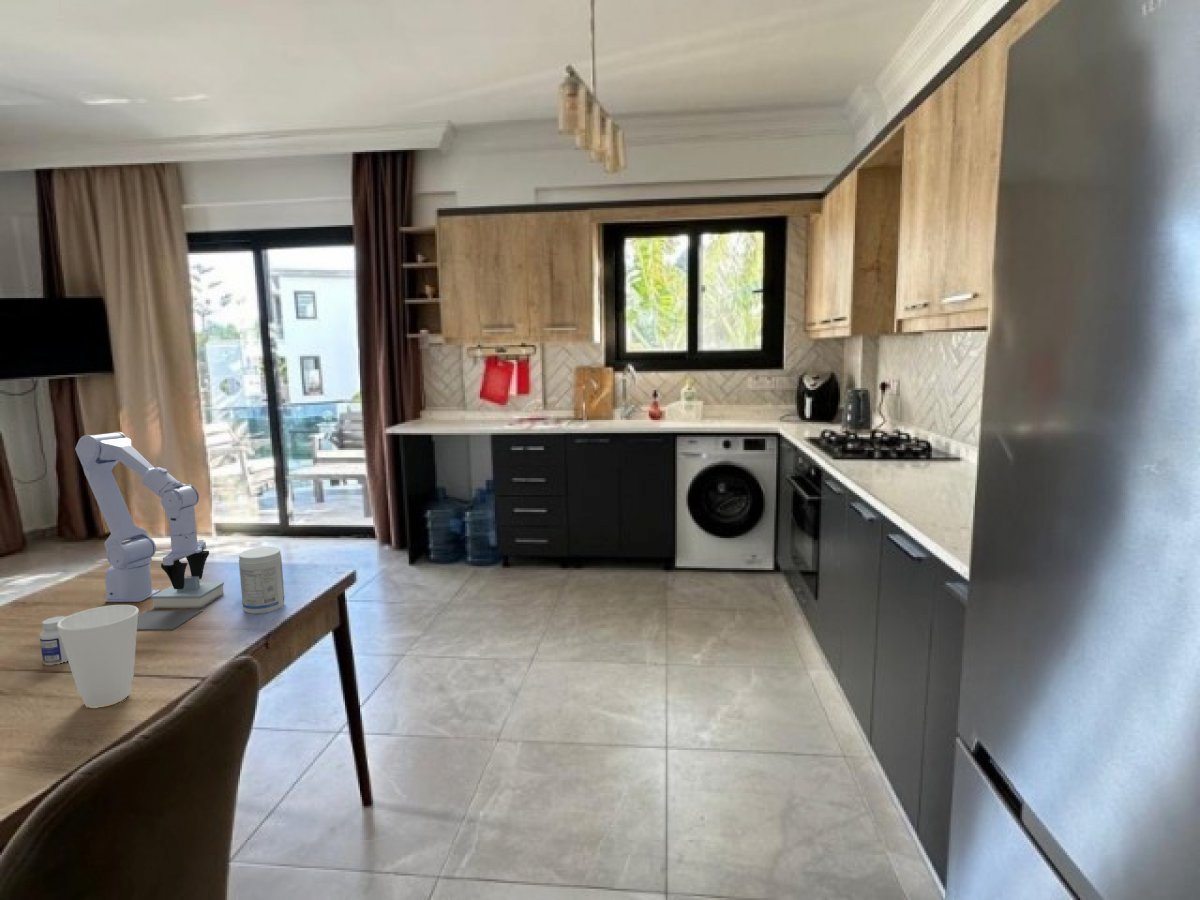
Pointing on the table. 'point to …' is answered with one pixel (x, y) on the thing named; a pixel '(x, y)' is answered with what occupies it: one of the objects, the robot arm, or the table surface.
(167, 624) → the mat
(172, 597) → the lid
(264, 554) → the supplement tub
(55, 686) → the table surface
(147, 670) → the table surface
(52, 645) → the pill bottle
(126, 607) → the cup
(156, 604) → the storage box
